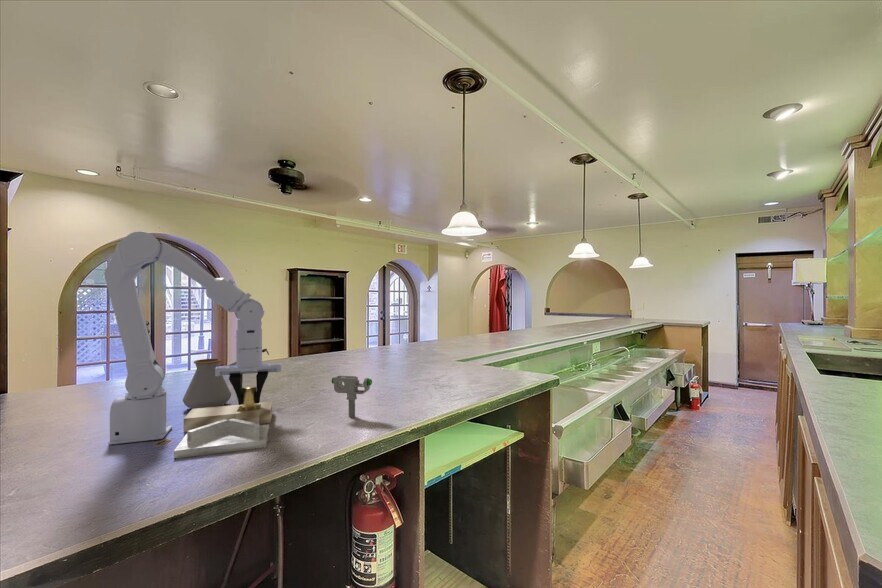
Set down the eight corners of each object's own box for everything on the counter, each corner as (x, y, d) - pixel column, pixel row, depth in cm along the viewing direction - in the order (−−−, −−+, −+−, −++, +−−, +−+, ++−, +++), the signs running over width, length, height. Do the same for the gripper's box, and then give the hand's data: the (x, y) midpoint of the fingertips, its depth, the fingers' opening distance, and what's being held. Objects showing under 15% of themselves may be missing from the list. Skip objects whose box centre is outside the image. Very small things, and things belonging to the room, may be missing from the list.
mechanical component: (368, 419, 97) (368, 379, 97) (330, 417, 99) (330, 377, 99) (372, 416, 100) (373, 377, 100) (335, 413, 102) (335, 375, 102)
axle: (241, 422, 95) (241, 389, 95) (242, 418, 98) (242, 386, 98) (255, 421, 96) (255, 388, 96) (257, 417, 99) (257, 385, 99)
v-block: (173, 458, 75) (173, 437, 75) (187, 440, 84) (187, 421, 84) (266, 447, 80) (266, 427, 80) (269, 431, 90) (269, 413, 89)
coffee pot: (182, 416, 100) (182, 357, 100) (182, 405, 110) (182, 351, 110) (272, 403, 112) (272, 350, 112) (265, 394, 121) (265, 346, 121)
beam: (183, 431, 89) (183, 418, 89) (192, 421, 96) (192, 408, 96) (270, 422, 95) (270, 410, 95) (272, 413, 103) (272, 401, 103)
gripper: (212, 351, 91) (212, 410, 91) (280, 348, 96) (280, 404, 96) (218, 347, 97) (218, 402, 97) (281, 344, 102) (281, 397, 102)
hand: (249, 403), depth 97 cm, fingers closed on axle, 3 cm apart
